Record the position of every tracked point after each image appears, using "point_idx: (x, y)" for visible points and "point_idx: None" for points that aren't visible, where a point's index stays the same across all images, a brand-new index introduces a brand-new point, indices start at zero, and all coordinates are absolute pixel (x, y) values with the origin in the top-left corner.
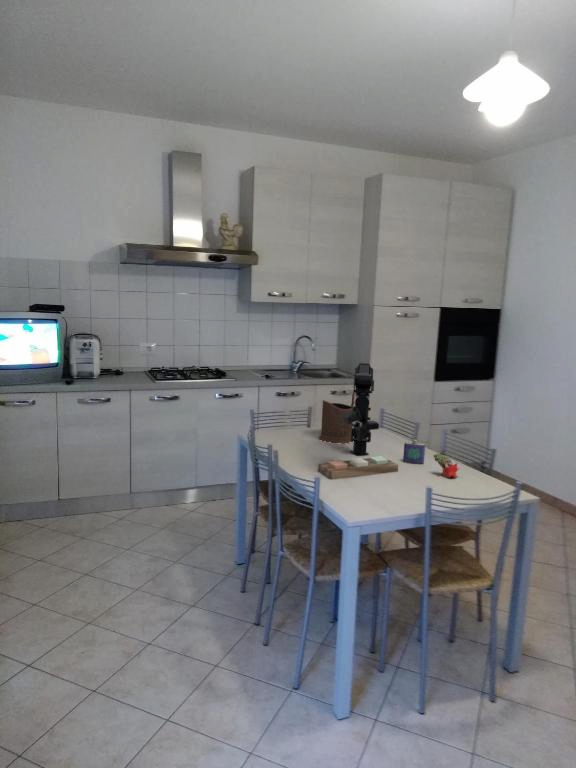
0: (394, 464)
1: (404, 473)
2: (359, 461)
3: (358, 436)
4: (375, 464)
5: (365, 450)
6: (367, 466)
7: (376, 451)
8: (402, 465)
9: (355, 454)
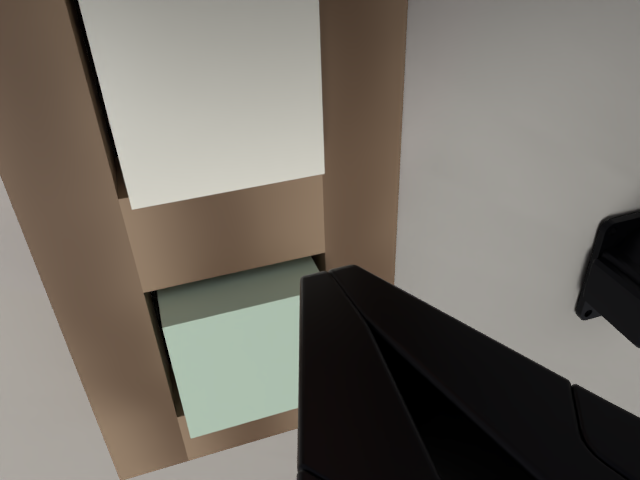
0: (129, 453)
1: (53, 458)
2: (181, 91)
3: (396, 353)
4: (160, 286)
5: (606, 312)
6: (82, 164)
7: (598, 376)
8: (266, 471)
9: (627, 217)
